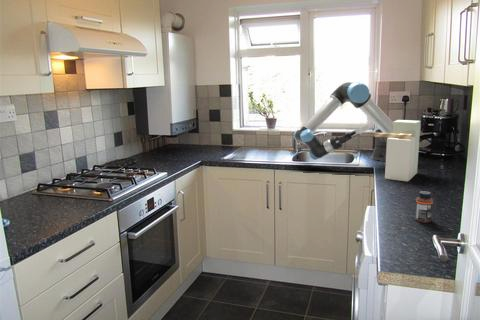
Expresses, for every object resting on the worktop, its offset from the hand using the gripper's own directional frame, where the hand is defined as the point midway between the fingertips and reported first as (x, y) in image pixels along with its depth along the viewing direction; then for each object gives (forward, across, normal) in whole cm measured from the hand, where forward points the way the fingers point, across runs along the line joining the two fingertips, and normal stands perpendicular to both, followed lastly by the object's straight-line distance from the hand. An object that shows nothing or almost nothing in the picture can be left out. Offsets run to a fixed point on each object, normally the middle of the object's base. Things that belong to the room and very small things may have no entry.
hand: (365, 128), depth 230 cm
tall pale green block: (+4, -5, -33) cm, 33 cm away
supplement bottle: (+25, +65, -45) cm, 83 cm away
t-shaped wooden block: (+11, 0, -11) cm, 16 cm away
